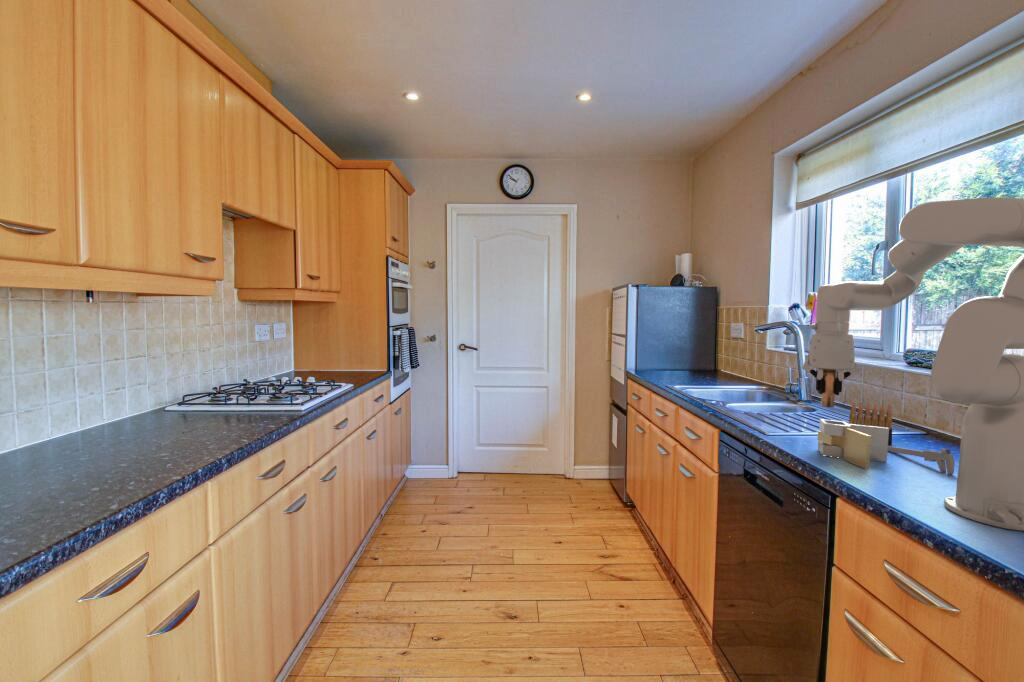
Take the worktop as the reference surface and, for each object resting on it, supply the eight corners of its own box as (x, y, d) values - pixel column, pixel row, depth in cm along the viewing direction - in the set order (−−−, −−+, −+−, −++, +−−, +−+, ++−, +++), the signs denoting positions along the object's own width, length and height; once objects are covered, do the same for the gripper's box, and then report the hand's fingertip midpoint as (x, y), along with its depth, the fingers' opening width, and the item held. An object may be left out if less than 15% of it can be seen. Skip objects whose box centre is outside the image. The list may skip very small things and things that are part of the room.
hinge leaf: (877, 469, 107) (879, 436, 107) (856, 468, 107) (858, 435, 107) (835, 450, 121) (837, 421, 121) (816, 450, 121) (818, 421, 121)
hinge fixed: (889, 465, 111) (892, 430, 110) (822, 456, 117) (824, 423, 117) (881, 458, 116) (884, 425, 116) (817, 450, 122) (820, 418, 122)
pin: (835, 407, 119) (837, 364, 119) (822, 406, 121) (824, 364, 120) (832, 405, 122) (835, 363, 121) (819, 404, 123) (822, 363, 123)
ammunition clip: (889, 443, 130) (892, 404, 129) (891, 445, 128) (895, 406, 127) (846, 439, 134) (849, 401, 133) (848, 440, 132) (851, 402, 131)
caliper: (953, 476, 105) (956, 451, 105) (949, 476, 105) (951, 450, 105) (884, 449, 125) (885, 428, 125) (880, 449, 125) (882, 428, 125)
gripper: (799, 328, 120) (796, 393, 121) (873, 329, 113) (868, 398, 114) (795, 328, 127) (792, 389, 128) (864, 329, 120) (860, 394, 121)
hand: (828, 393), depth 121 cm, fingers closed on pin, 3 cm apart
